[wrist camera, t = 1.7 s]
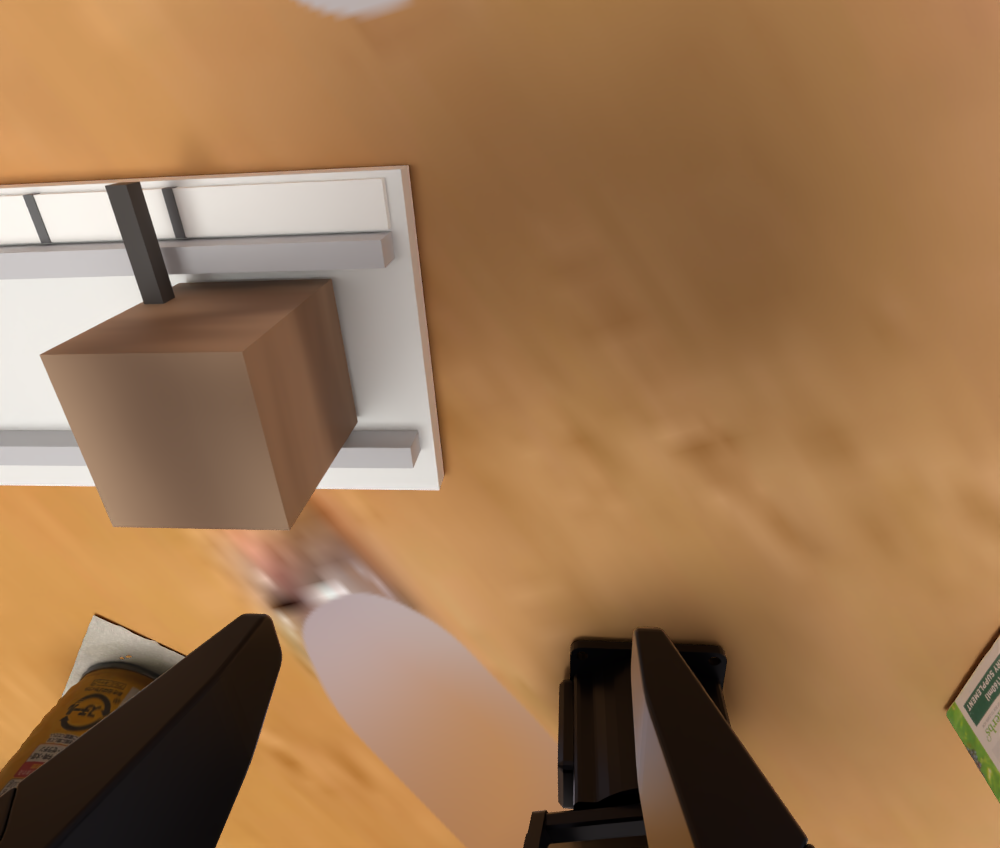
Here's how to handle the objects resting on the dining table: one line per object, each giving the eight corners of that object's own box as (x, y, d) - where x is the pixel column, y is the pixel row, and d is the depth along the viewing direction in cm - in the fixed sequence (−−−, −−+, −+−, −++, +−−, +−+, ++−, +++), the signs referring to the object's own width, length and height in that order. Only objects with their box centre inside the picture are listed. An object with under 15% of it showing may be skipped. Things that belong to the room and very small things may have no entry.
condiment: (58, 705, 34) (-173, 987, 23) (95, 612, 30) (-163, 900, 19) (186, 761, 35) (21, 1052, 24) (237, 678, 31) (68, 982, 21)
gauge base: (408, 165, 19) (345, 197, 14) (444, 475, 24) (408, 585, 19) (-252, 197, 21) (-518, 234, 16) (-91, 470, 27) (-254, 566, 21)
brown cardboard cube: (311, 167, 18) (202, 202, 13) (357, 422, 22) (289, 530, 16) (146, 175, 18) (-22, 212, 13) (221, 422, 22) (113, 527, 17)
